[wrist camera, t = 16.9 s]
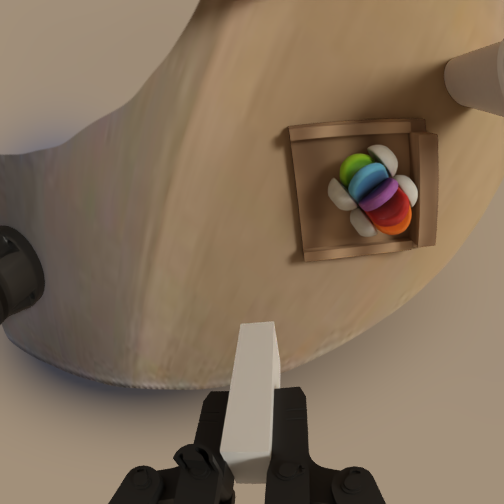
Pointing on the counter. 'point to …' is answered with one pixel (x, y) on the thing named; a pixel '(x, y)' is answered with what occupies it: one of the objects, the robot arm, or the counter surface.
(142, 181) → the counter surface
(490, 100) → the coffee cup
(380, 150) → the rainbow disc rattle
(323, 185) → the square wooden tray
